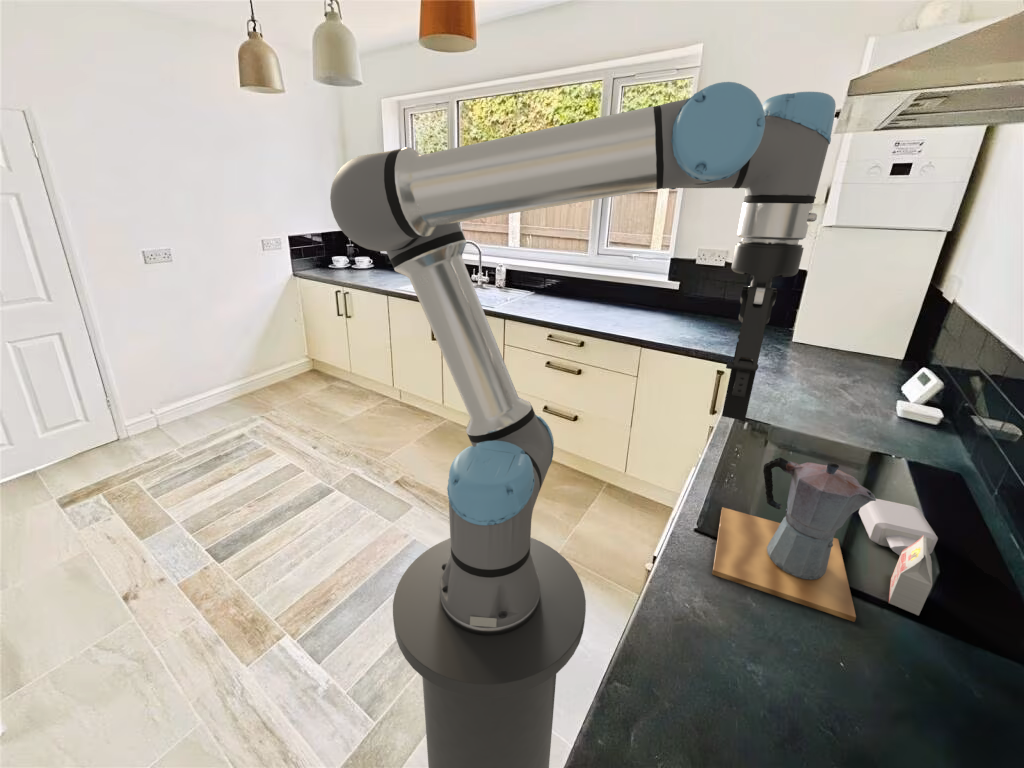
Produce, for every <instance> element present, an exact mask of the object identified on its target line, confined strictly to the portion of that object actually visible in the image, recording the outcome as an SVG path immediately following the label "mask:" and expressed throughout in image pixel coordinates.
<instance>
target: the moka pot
mask: <svg viewBox="0 0 1024 768" xmlns="http://www.w3.org/2000/svg"><path fill="white" fill-rule="evenodd" d="M839 467H840V466H839V464H837V462H833V461H832V462H831V461H828V462H827V463H826V464H821V463H815V462H810V461H808V462H803V463H801V464H799V463H797V462H795V461H789V460H787V459H785V458H783V457H781V456H780V457H778V458H774V459H773V460H770V461H768V462H766V463H764V465H763V478H764V488H765V495H766V496H765V498H766V504H767V505H769V506H770V507H773V508H774V509H776V510H781V509H782V508H783V505H782V504H781V503H779V502H777V501H775V499H774V494H773V490H774V484H773V471H772V470H773V469H774V468H780V469H781V470H782V471H783V472H784V473H786V474H789V475H791V478H790V484H789V490H788V495H787V500H786V505H787V508H785V515H784V517H783V519H782V520H781V522H779V523H780V525H779V527H778V529H777V531H776V532H775V534H774V536H773V537H772V539H771V541H770V542H769V544H768V546H767V553H768V555H769V557H770V559H771V560H772V561H773V562H774V563H775V564H776V565H777V566H778V567H779V568H781V569H782V570H784V571H785V572H787V573H789V574H791V575H794V576H796V577H799V578H802V579H809V580H816V579H819V578H821V577H822V576H823V575H824V574H825V572H826V569H827V565H828V561H829V556H830V552H831V547H832V546H833V538H835V536H836V533H837V531H838V530H839V529H841V528H842V527H843V526H844V525H845V523H846V521H847V520H848V519H849V517H850V516H851V515H852V514H853V513H856V512H857V511H859V510H860V508H861V507H863V506H864V505H866V504H867V503H869V502H870V501H876V499H877V498H876V496H875V494H874V493H872V491H871V490H869V488H866V487H865V486H863V485H861V484H860V482H859V481H858V479H857V478H856V477H854V476H853V475H851V474H848V473H847V472H845V471H842V470H841V469H839Z"/></svg>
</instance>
